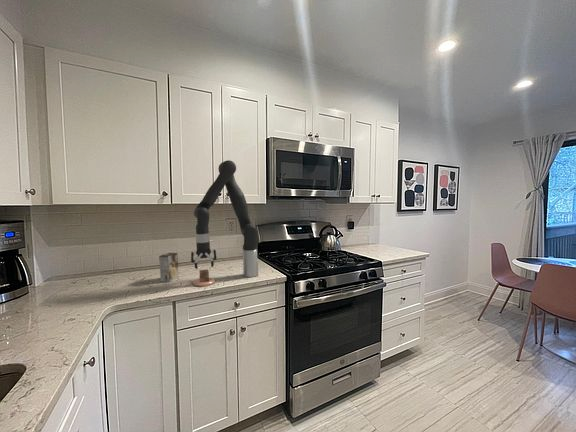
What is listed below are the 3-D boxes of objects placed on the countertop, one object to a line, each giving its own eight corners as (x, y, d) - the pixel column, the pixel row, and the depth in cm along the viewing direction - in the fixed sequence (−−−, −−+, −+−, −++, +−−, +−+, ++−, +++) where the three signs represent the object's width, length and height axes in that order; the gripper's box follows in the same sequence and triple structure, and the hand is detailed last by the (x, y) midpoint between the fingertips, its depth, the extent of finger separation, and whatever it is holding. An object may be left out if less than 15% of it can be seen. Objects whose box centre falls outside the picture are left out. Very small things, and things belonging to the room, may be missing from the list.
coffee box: (170, 276, 165) (168, 252, 163) (178, 277, 163) (177, 252, 162) (160, 281, 156) (159, 255, 154) (169, 282, 154) (168, 256, 153)
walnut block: (208, 278, 156) (208, 269, 155) (208, 281, 151) (208, 271, 150) (199, 279, 154) (199, 270, 153) (200, 282, 149) (199, 272, 149)
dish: (213, 278, 160) (213, 276, 160) (215, 285, 149) (215, 282, 149) (193, 281, 156) (193, 278, 156) (193, 287, 145) (193, 285, 145)
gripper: (214, 239, 156) (216, 264, 158) (190, 241, 151) (191, 267, 153) (216, 241, 149) (217, 268, 151) (190, 243, 144) (191, 271, 146)
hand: (204, 267), depth 152 cm, fingers open, 8 cm apart
